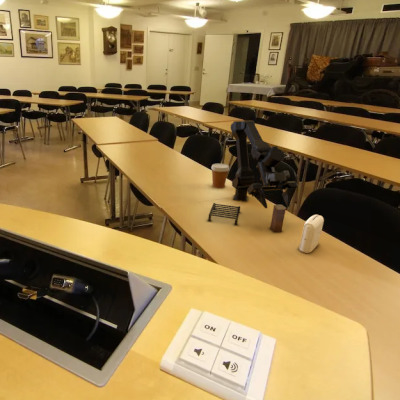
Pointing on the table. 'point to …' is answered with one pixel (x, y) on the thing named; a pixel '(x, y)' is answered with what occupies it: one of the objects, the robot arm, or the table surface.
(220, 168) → the disposable coffee cup
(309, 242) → the photo printer
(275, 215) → the hanger post
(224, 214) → the wire rack
